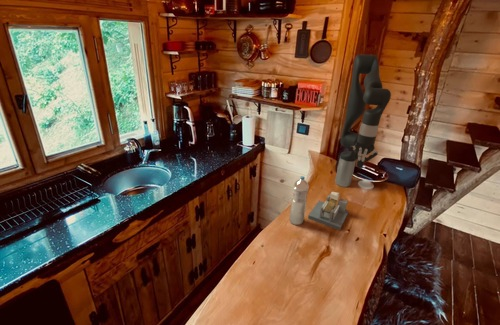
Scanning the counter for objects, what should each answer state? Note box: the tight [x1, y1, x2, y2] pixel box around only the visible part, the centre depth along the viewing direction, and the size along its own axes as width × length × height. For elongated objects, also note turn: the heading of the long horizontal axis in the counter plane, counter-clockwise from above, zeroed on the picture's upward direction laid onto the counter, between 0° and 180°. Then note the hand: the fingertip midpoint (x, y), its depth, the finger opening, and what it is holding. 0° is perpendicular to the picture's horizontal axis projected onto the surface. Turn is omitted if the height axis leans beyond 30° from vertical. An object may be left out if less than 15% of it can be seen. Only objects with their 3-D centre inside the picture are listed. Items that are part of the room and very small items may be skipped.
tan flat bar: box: [324, 198, 338, 213], centre depth 138 cm, size 14×3×1 cm, turn 148°
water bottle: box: [289, 175, 310, 226], centre depth 130 cm, size 7×7×25 cm
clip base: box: [307, 194, 350, 231], centre depth 138 cm, size 16×16×8 cm
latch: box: [329, 191, 341, 201], centre depth 141 cm, size 3×4×3 cm
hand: (359, 167), depth 131 cm, fingers closed
